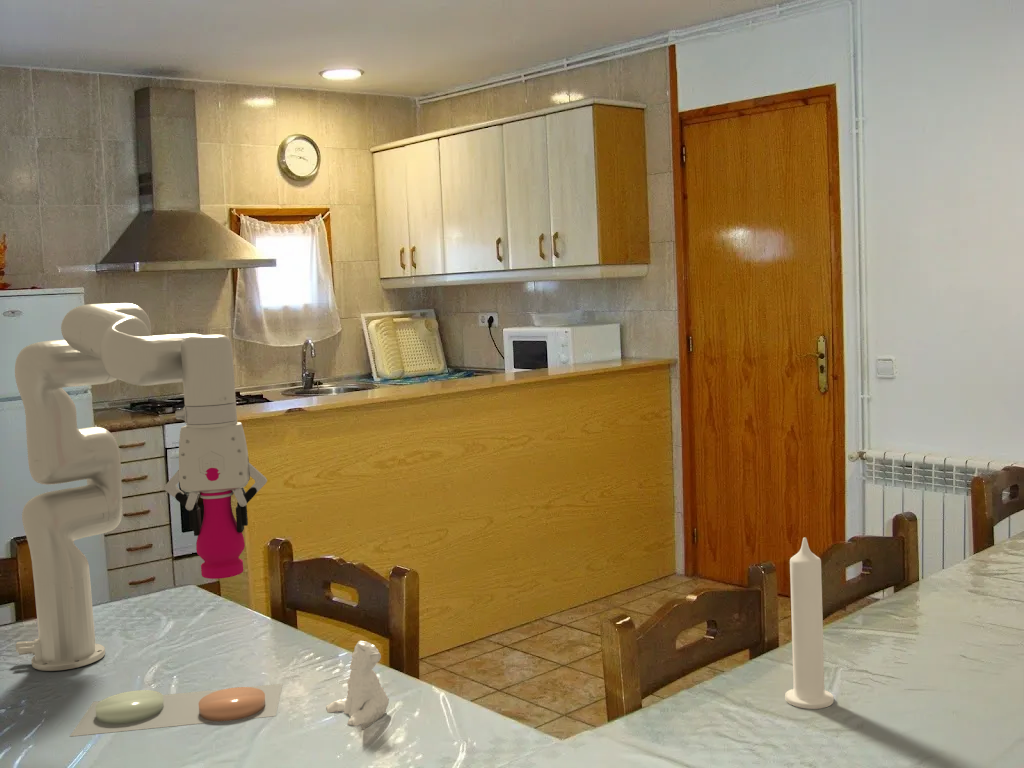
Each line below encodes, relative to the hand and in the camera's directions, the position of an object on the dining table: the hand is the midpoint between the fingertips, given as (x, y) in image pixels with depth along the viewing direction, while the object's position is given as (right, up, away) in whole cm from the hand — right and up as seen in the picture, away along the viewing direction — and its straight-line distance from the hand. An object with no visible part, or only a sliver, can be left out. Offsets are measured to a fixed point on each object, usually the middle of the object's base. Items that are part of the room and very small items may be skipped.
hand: (219, 531), depth 163 cm
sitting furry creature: (+22, -29, -1) cm, 36 cm away
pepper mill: (0, -7, +1) cm, 7 cm away
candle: (+90, -25, -3) cm, 93 cm away
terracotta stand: (+1, -28, +2) cm, 28 cm away
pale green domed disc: (-15, -29, +3) cm, 32 cm away
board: (-7, -29, +3) cm, 30 cm away
